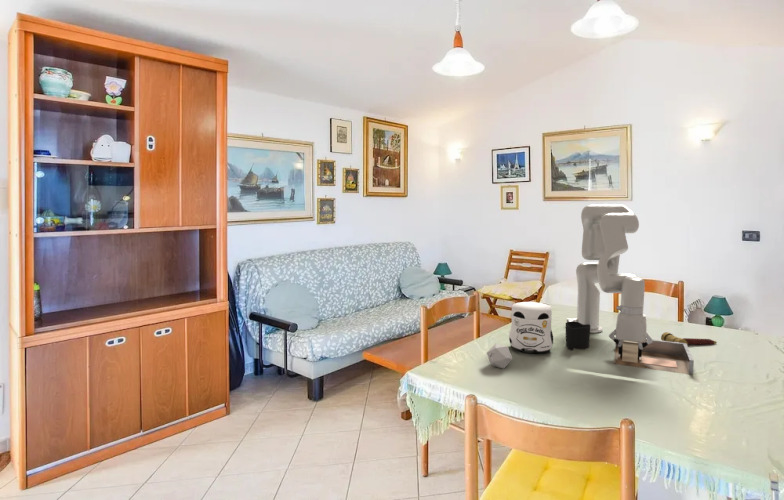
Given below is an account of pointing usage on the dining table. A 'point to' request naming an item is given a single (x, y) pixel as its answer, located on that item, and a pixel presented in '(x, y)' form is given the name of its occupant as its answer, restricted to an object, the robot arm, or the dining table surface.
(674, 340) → the gavel
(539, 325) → the milk container
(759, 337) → the dining table surface
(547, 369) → the dining table surface
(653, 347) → the metal walls
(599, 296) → the robot arm
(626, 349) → the maple block
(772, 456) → the dining table surface
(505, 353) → the die
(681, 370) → the walnut board
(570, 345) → the pen holder
